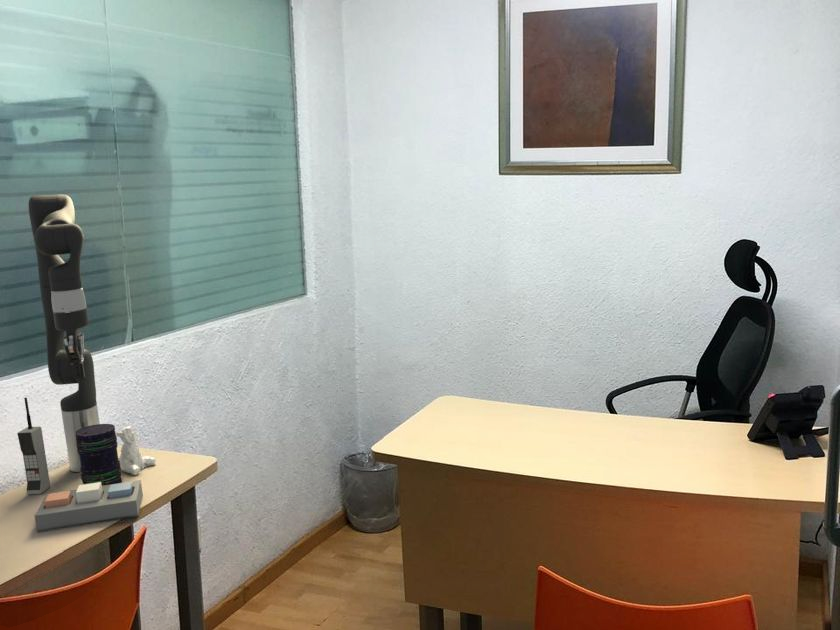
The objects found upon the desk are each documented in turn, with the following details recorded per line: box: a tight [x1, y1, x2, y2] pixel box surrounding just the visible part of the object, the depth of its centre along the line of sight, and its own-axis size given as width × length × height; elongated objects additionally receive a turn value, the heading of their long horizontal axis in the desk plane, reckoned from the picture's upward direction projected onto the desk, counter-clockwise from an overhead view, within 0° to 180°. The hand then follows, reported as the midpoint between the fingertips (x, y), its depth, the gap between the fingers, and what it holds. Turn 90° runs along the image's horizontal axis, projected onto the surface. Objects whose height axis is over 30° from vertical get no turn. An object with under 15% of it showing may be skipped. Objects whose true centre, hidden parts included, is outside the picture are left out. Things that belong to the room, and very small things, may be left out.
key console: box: [34, 479, 144, 533], centre depth 200 cm, size 14×22×4 cm, turn 104°
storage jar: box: [75, 423, 123, 486], centre depth 219 cm, size 10×10×15 cm
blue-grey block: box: [108, 481, 133, 498], centre depth 202 cm, size 5×5×4 cm
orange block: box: [45, 490, 72, 508], centre depth 199 cm, size 5×5×4 cm
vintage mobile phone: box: [16, 397, 51, 495], centre depth 216 cm, size 4×5×25 cm
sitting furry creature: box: [116, 426, 156, 476], centre depth 229 cm, size 10×9×12 cm
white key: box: [76, 482, 103, 503], centre depth 200 cm, size 5×5×4 cm
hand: (79, 378), depth 204 cm, fingers closed
